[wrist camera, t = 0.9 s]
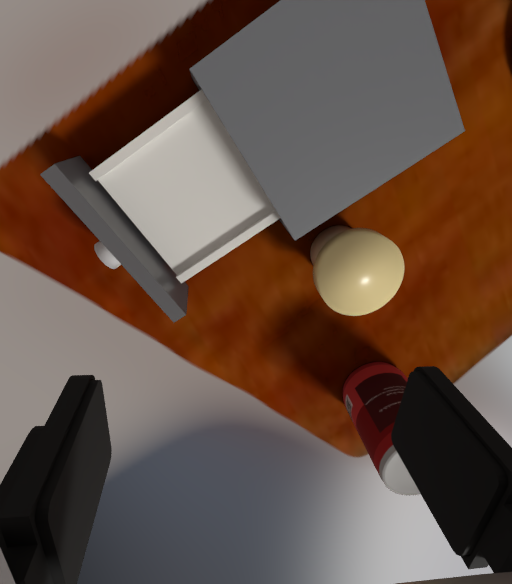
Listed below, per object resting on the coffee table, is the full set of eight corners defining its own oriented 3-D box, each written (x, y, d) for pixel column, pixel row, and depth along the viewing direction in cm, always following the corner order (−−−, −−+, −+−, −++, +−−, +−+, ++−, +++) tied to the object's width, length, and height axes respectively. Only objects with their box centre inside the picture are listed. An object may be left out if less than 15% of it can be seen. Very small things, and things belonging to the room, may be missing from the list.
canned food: (370, 421, 45) (417, 506, 35) (326, 393, 42) (363, 478, 32) (416, 380, 43) (480, 457, 33) (373, 348, 40) (429, 423, 30)
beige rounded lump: (371, 238, 34) (393, 254, 30) (342, 282, 36) (360, 303, 32) (328, 216, 33) (345, 229, 29) (300, 263, 35) (313, 282, 31)
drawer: (222, 49, 26) (226, 33, 21) (310, 206, 32) (329, 222, 27) (52, 176, 28) (21, 188, 23) (164, 302, 34) (157, 332, 29)
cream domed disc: (409, 249, 30) (421, 256, 29) (363, 316, 33) (371, 326, 31) (342, 213, 28) (350, 218, 27) (297, 287, 31) (303, 297, 29)
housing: (357, -46, 25) (397, -88, 20) (420, 128, 31) (464, 131, 26) (191, 78, 27) (189, 68, 22) (280, 221, 33) (294, 240, 27)
